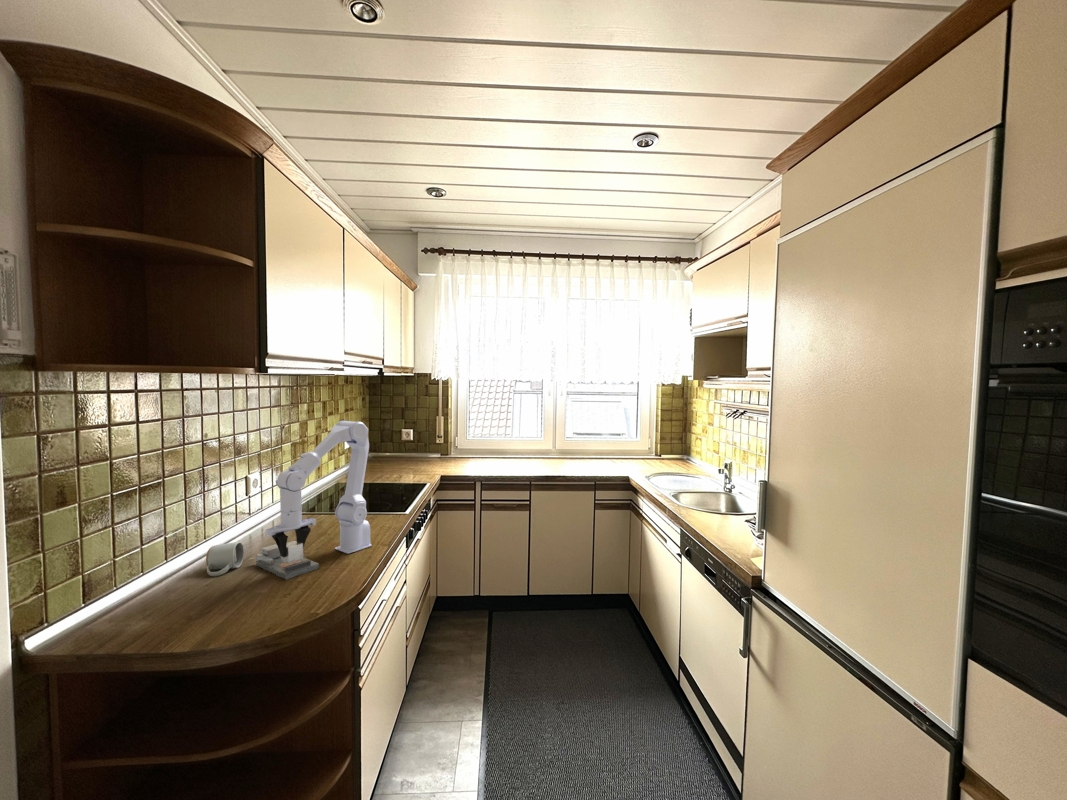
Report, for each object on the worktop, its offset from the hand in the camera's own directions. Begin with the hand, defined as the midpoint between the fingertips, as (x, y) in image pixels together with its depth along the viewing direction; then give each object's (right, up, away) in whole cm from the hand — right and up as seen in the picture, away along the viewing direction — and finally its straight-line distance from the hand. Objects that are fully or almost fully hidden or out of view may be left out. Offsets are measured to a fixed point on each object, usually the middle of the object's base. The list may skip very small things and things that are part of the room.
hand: (291, 553), depth 142 cm
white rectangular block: (0, -2, 0) cm, 2 cm away
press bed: (-2, -5, +2) cm, 6 cm away
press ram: (-9, -3, +6) cm, 11 cm away
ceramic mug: (-21, -5, 0) cm, 21 cm away
